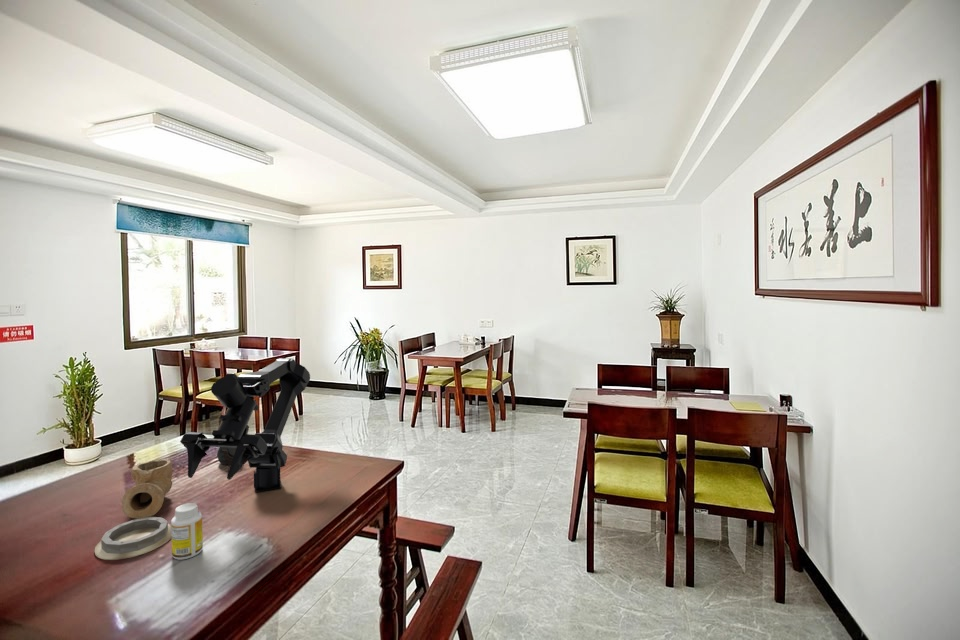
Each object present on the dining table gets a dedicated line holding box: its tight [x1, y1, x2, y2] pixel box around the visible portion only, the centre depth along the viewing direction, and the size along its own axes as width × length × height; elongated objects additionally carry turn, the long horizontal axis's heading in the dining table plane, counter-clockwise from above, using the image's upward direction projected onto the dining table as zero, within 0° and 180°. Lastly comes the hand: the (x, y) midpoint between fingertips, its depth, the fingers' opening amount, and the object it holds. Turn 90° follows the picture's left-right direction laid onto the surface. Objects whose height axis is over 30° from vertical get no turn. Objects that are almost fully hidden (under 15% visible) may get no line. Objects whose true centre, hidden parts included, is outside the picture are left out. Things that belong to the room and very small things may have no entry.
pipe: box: [121, 459, 173, 519], centre depth 116 cm, size 9×16×10 cm, turn 26°
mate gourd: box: [216, 447, 233, 466], centre depth 146 cm, size 7×8×10 cm
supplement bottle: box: [170, 502, 204, 561], centre depth 95 cm, size 6×6×10 cm
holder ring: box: [94, 516, 172, 561], centre depth 100 cm, size 14×14×3 cm
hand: (209, 478), depth 102 cm, fingers open, 9 cm apart
